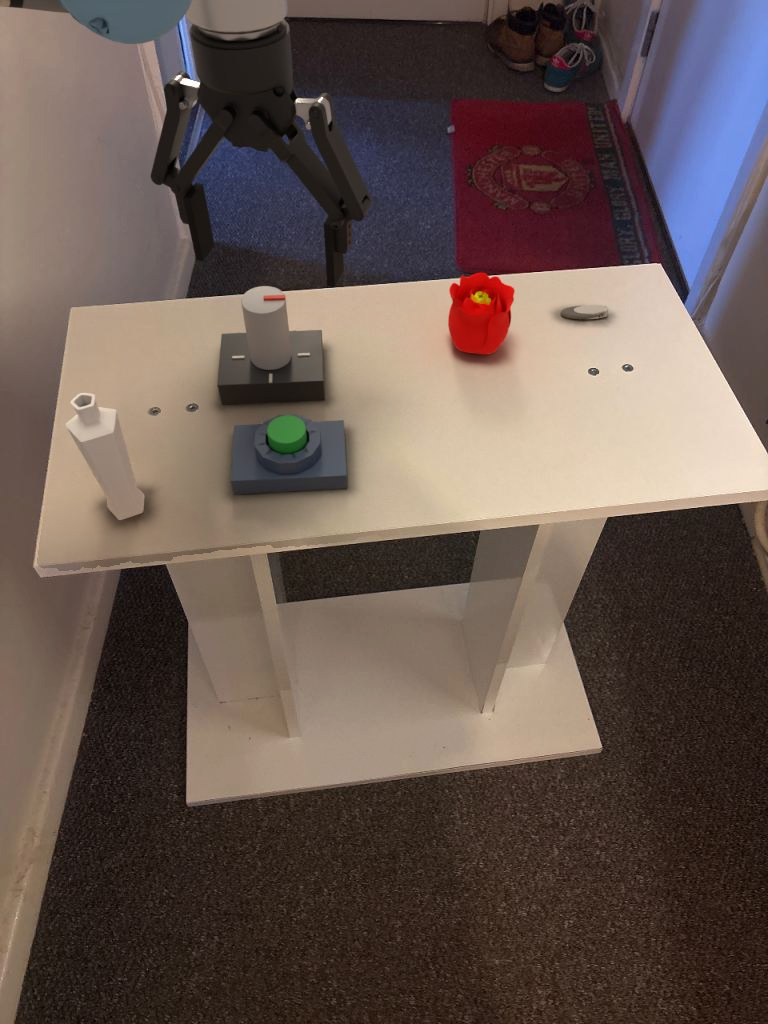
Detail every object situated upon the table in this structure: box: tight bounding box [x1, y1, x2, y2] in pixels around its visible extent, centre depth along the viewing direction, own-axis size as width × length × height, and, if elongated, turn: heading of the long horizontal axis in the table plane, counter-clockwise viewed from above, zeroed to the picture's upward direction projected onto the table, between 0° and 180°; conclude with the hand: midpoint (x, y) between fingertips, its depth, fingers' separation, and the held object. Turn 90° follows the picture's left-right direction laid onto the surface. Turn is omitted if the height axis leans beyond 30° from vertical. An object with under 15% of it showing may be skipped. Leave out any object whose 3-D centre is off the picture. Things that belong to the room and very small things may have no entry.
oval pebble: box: [560, 304, 610, 320], centre depth 98 cm, size 6×2×1 cm, turn 87°
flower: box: [447, 272, 515, 355], centre depth 91 cm, size 8×8×8 cm
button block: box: [230, 413, 348, 495], centre depth 80 cm, size 12×8×4 cm, turn 94°
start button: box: [267, 414, 307, 454], centre depth 78 cm, size 4×4×2 cm
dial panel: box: [217, 329, 326, 405], centre depth 89 cm, size 12×9×3 cm
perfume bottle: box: [65, 392, 146, 521], centre depth 72 cm, size 5×4×15 cm
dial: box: [240, 285, 292, 370], centre depth 85 cm, size 5×5×8 cm
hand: (269, 265), depth 73 cm, fingers open, 13 cm apart
